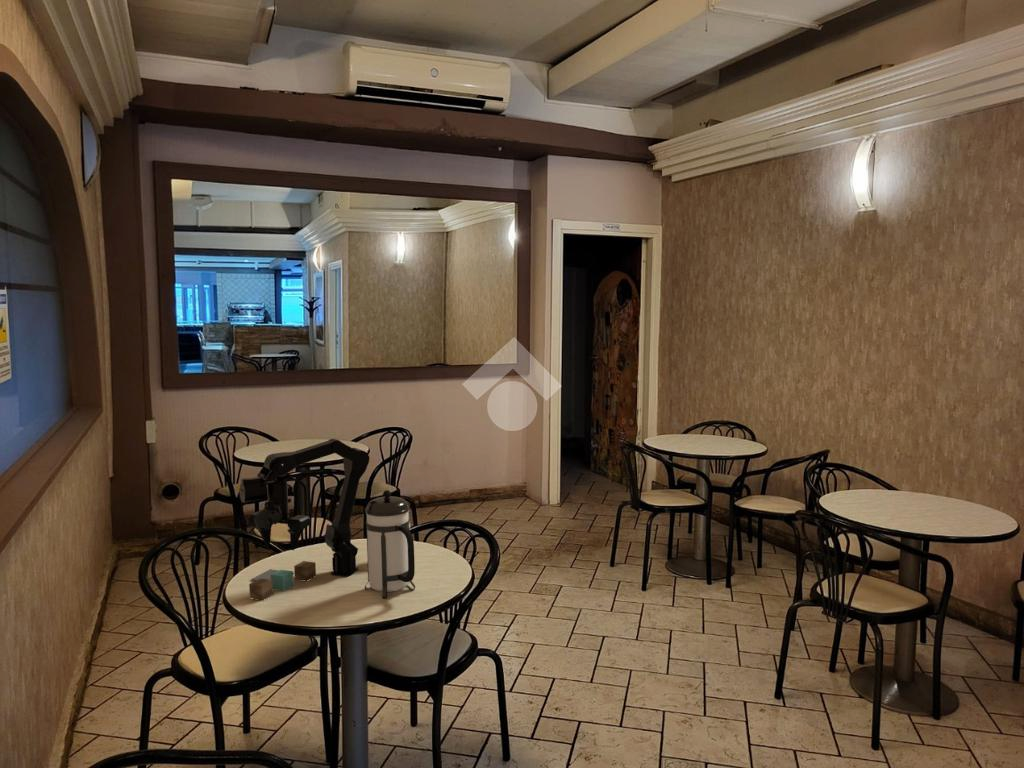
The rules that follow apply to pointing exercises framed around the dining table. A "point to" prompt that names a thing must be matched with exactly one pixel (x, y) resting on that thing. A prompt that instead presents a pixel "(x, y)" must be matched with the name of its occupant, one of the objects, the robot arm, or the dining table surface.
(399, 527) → the coffee press
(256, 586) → the walnut cube left
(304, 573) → the walnut cube right
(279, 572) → the teal cube
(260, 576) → the slate tile
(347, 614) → the dining table surface
